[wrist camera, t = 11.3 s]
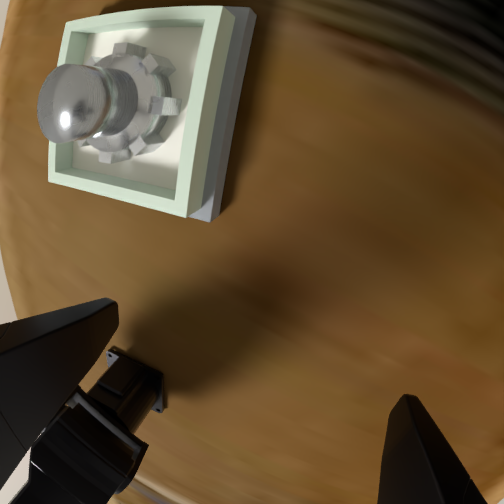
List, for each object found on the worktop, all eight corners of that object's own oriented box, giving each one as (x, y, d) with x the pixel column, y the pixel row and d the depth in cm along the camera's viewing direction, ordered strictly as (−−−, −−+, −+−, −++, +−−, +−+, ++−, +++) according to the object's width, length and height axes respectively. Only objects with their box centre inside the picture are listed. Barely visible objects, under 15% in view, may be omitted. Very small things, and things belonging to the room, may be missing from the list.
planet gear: (172, 167, 18) (107, 187, 13) (85, 151, 19) (18, 167, 14) (191, 47, 15) (129, 23, 10) (98, 50, 16) (31, 42, 11)
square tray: (218, 215, 20) (196, 232, 17) (73, 179, 23) (42, 189, 20) (256, 15, 15) (238, -5, 12) (93, 22, 17) (62, 15, 14)
